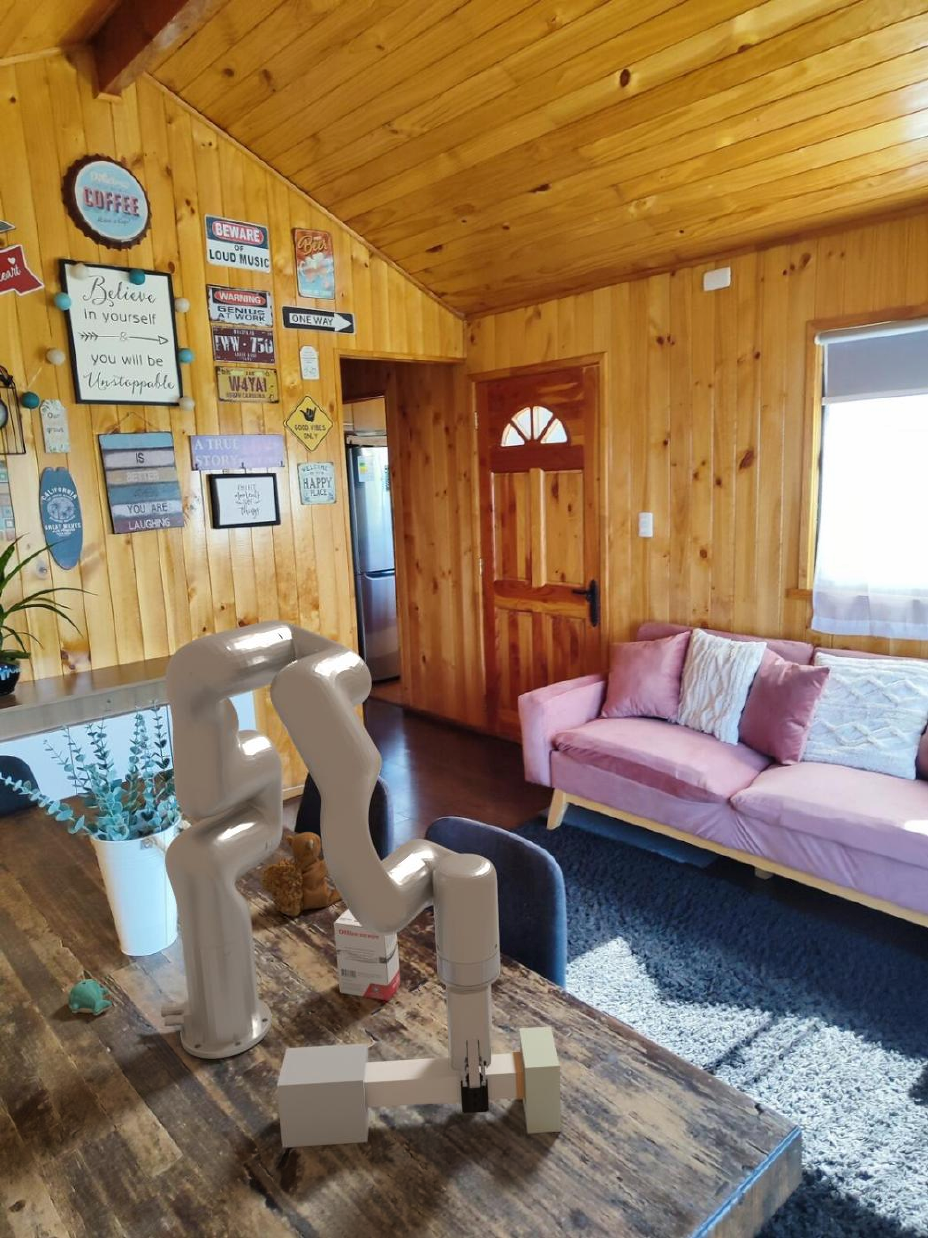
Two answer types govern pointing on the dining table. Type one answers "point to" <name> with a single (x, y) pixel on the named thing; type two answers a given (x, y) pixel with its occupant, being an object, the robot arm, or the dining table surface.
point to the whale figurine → (88, 998)
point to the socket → (541, 1080)
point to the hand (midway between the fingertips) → (474, 1096)
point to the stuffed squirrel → (300, 878)
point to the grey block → (323, 1095)
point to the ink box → (365, 960)
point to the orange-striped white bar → (438, 1081)
